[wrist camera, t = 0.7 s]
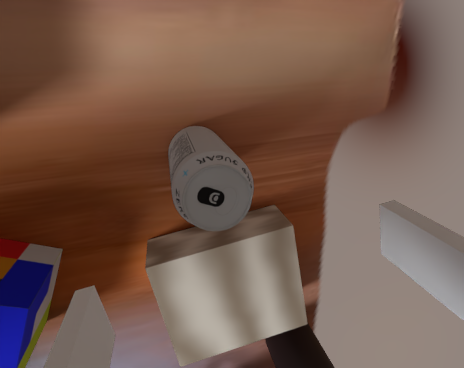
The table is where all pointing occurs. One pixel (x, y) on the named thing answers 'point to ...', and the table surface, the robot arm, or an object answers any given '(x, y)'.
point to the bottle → (297, 349)
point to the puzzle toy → (24, 297)
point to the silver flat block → (227, 284)
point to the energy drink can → (208, 180)
